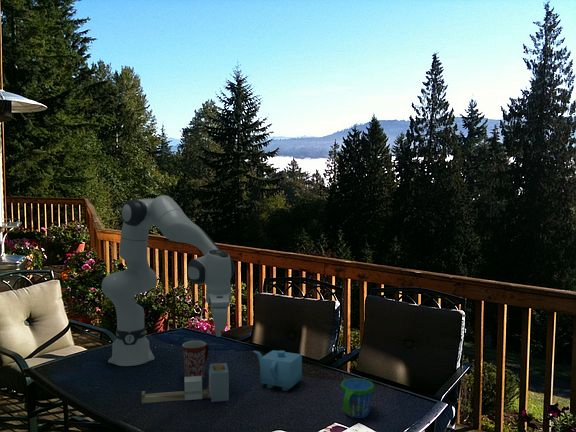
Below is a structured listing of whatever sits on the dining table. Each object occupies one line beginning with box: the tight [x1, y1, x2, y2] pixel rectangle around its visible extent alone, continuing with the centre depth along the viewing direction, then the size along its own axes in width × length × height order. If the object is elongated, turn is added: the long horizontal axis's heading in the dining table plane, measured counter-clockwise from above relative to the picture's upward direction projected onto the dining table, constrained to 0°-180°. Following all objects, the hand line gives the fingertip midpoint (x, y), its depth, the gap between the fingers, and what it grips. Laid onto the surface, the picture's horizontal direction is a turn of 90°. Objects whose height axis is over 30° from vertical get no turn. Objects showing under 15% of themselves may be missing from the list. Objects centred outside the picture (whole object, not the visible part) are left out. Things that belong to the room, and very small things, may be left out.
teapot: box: [252, 350, 303, 392], centre depth 197 cm, size 18×16×13 cm
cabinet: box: [208, 362, 230, 403], centre depth 186 cm, size 10×6×10 cm, turn 11°
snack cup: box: [340, 377, 375, 419], centre depth 171 cm, size 16×10×10 cm
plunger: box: [215, 364, 223, 370], centre depth 186 cm, size 3×3×5 cm
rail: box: [141, 386, 211, 404], centre depth 184 cm, size 3×24×3 cm, turn 101°
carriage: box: [183, 376, 203, 401], centre depth 185 cm, size 5×6×6 cm
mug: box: [181, 340, 210, 380], centre depth 205 cm, size 13×9×14 cm
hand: (218, 335), depth 186 cm, fingers closed
